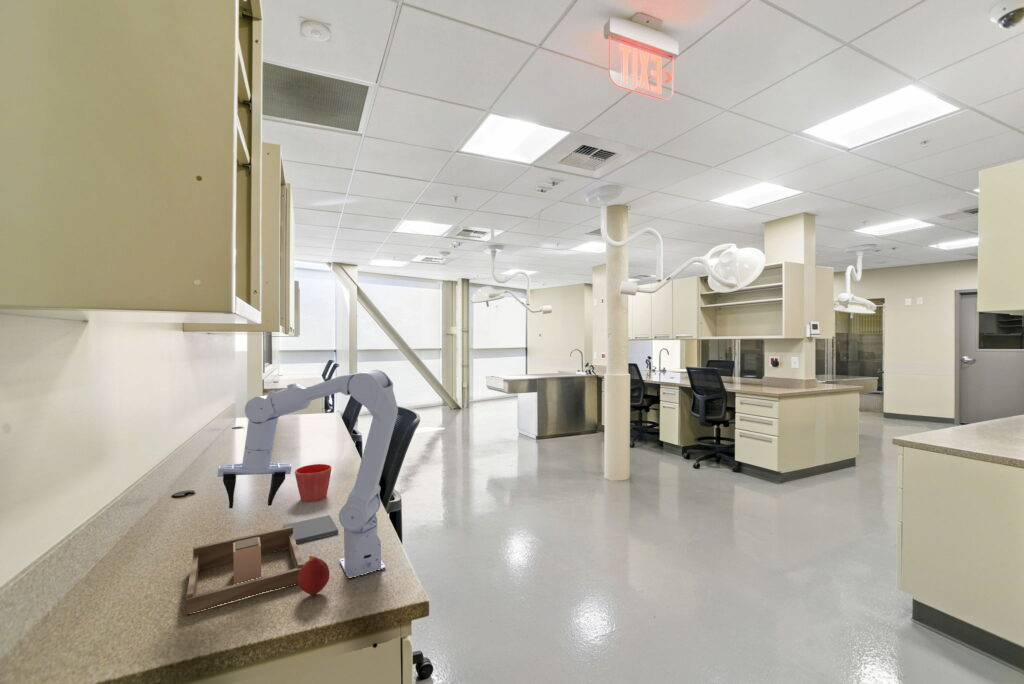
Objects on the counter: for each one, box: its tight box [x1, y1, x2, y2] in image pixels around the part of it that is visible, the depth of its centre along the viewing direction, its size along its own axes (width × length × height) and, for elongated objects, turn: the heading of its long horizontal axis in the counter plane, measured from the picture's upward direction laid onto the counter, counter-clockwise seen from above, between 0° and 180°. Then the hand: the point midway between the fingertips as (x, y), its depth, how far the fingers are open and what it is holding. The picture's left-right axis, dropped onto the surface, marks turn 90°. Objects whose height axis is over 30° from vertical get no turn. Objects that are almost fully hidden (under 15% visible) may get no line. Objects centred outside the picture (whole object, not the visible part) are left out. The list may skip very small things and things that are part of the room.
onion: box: [297, 554, 330, 596], centre depth 88 cm, size 6×6×8 cm
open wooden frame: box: [185, 526, 304, 616], centre depth 95 cm, size 20×20×5 cm
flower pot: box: [294, 463, 332, 503], centre depth 143 cm, size 11×11×10 cm
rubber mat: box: [282, 514, 339, 544], centre depth 117 cm, size 12×12×1 cm
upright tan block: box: [232, 537, 262, 585], centre depth 95 cm, size 5×5×7 cm
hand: (250, 505), depth 101 cm, fingers open, 7 cm apart
